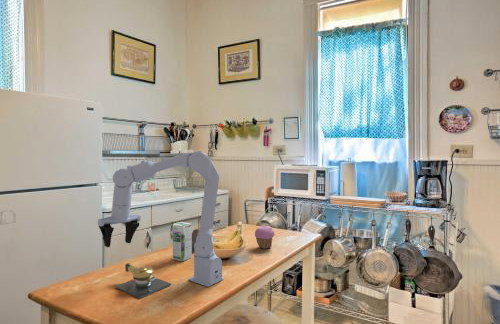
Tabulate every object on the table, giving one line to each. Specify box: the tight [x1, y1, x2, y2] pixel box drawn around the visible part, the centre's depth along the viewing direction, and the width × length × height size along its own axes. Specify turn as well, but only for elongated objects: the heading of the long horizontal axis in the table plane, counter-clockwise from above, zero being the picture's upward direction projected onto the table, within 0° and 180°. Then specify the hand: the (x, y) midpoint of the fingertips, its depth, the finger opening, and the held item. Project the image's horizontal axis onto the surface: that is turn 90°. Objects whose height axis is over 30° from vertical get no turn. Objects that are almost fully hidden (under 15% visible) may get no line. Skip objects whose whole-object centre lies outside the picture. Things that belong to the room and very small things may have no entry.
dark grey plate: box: [114, 276, 172, 300], centre depth 108 cm, size 13×12×3 cm
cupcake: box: [254, 225, 275, 250], centre depth 149 cm, size 9×9×10 cm
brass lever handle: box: [124, 263, 155, 280], centre depth 109 cm, size 12×6×2 cm, turn 54°
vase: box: [192, 228, 199, 252], centre depth 147 cm, size 7×7×9 cm
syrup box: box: [172, 221, 193, 262], centre depth 134 cm, size 6×6×14 cm
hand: (117, 244), depth 111 cm, fingers open, 7 cm apart
